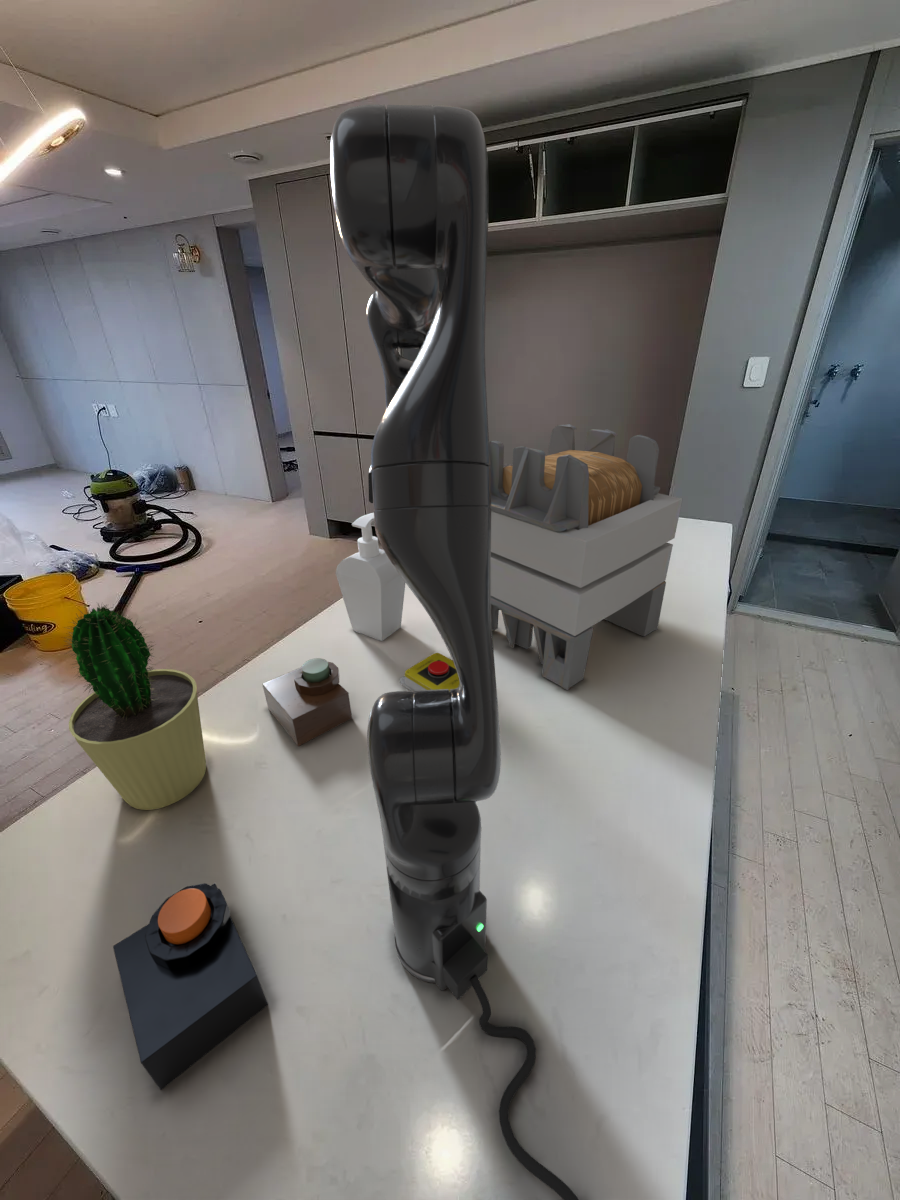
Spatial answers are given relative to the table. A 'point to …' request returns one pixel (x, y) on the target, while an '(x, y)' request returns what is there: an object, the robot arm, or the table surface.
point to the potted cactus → (135, 714)
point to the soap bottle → (371, 586)
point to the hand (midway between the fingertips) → (412, 521)
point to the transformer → (577, 544)
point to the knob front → (184, 916)
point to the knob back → (315, 670)
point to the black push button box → (187, 990)
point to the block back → (307, 704)
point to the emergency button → (431, 674)
